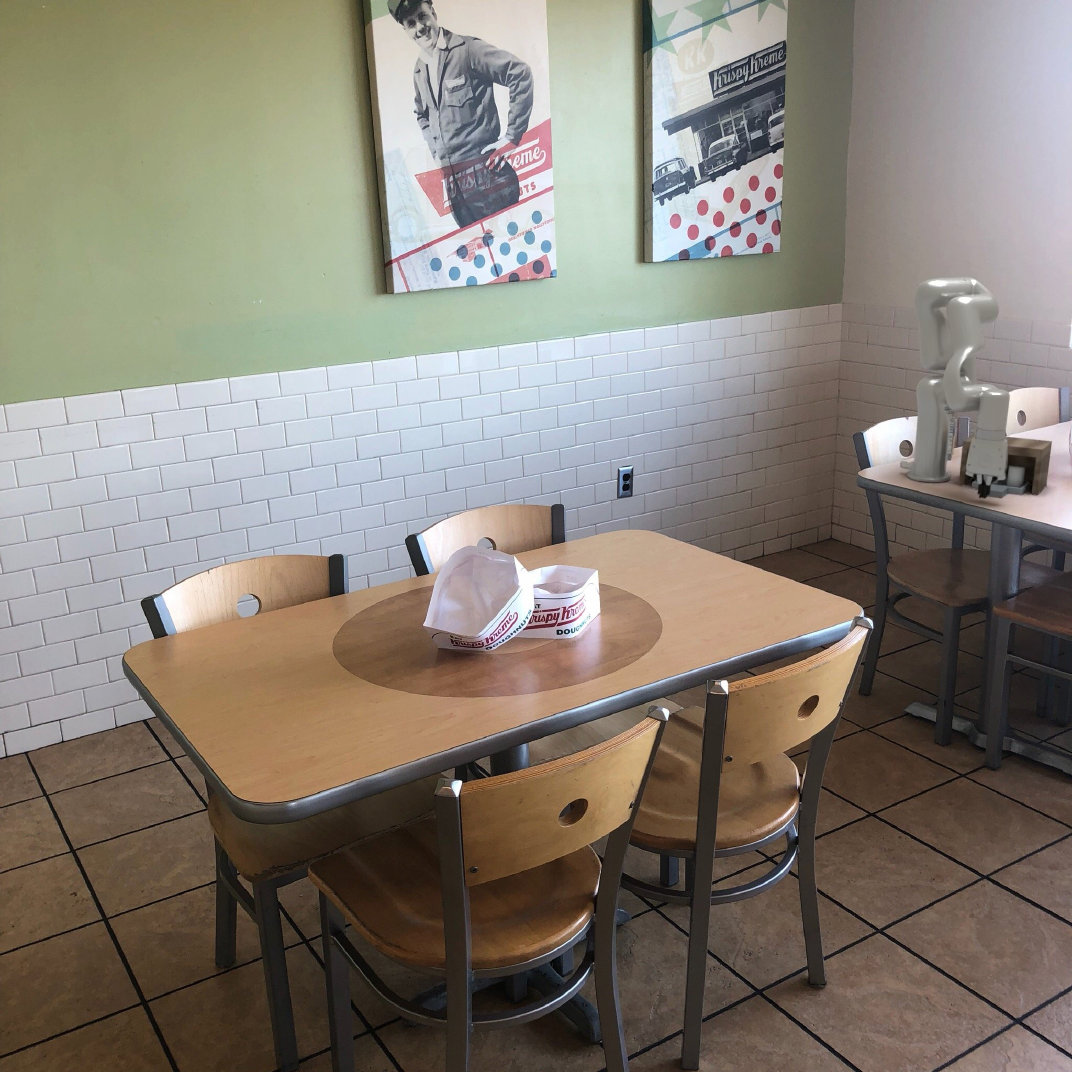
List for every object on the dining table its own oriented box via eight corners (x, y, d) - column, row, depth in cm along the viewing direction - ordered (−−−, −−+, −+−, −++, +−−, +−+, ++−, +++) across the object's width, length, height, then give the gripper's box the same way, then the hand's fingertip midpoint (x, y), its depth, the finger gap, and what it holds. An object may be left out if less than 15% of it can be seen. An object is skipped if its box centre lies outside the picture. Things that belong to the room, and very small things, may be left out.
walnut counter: (958, 484, 318) (962, 441, 314) (969, 476, 327) (973, 433, 323) (1037, 495, 305) (1042, 449, 301) (1046, 485, 314) (1052, 441, 310)
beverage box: (928, 458, 349) (934, 392, 342) (931, 451, 358) (937, 386, 352) (950, 460, 346) (957, 393, 339) (953, 452, 356) (959, 387, 349)
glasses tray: (965, 493, 309) (968, 471, 307) (980, 480, 321) (983, 459, 319) (1016, 499, 301) (1019, 477, 299) (1030, 487, 313) (1032, 465, 311)
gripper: (959, 433, 296) (952, 496, 301) (1015, 440, 287) (1007, 504, 293) (966, 428, 301) (959, 490, 307) (1022, 434, 293) (1014, 497, 299)
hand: (983, 497), depth 300 cm, fingers closed
